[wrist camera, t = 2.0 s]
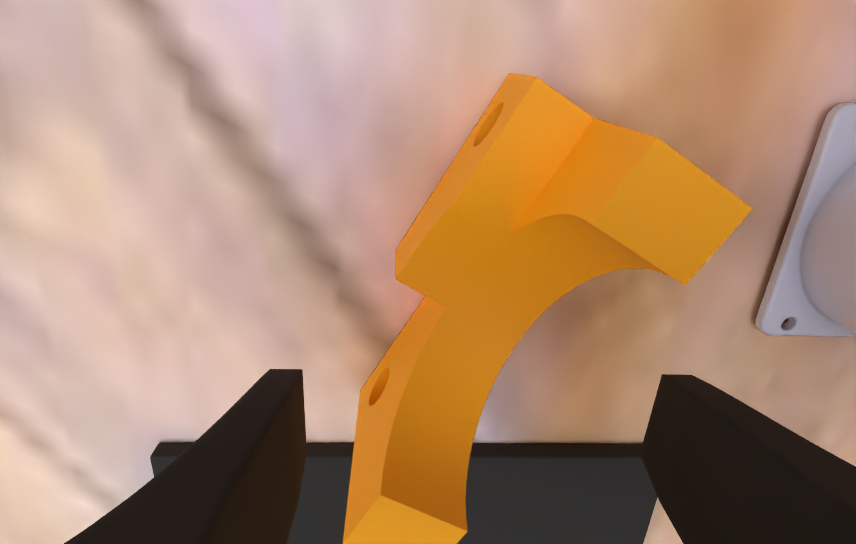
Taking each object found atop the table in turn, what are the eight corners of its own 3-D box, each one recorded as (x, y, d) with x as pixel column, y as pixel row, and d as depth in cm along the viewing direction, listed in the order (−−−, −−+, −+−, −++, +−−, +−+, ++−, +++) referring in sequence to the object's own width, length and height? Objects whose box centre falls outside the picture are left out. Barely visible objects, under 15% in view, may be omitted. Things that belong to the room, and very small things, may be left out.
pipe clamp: (509, 73, 15) (584, 83, 9) (619, 152, 16) (753, 208, 10) (318, 371, 18) (279, 520, 12) (418, 418, 19) (427, 576, 13)
